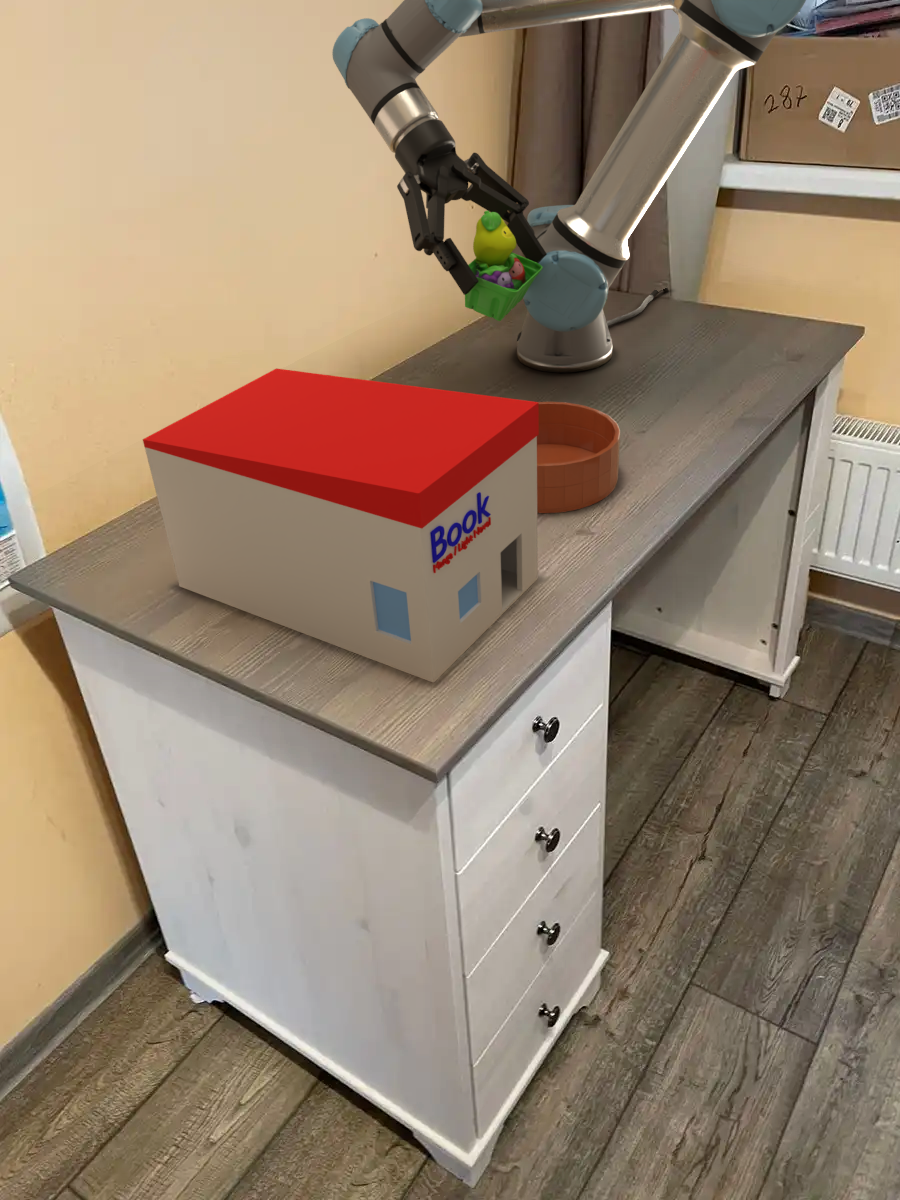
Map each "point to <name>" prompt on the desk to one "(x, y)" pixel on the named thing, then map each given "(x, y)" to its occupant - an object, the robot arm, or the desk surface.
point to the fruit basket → (498, 269)
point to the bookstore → (355, 510)
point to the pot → (575, 456)
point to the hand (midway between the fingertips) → (506, 274)
